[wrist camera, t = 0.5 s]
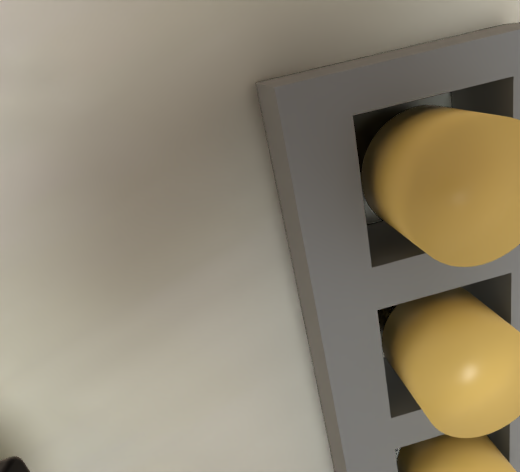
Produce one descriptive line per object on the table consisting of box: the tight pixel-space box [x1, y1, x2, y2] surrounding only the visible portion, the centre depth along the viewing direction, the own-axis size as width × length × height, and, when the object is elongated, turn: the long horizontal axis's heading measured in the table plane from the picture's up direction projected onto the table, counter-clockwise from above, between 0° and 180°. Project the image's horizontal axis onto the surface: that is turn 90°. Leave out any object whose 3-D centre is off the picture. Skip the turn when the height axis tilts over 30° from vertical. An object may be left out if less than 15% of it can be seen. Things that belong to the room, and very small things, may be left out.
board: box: [256, 22, 520, 472], centre depth 22 cm, size 25×11×4 cm, turn 12°
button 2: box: [382, 287, 520, 438], centre depth 19 cm, size 5×5×4 cm
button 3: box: [361, 105, 520, 267], centre depth 16 cm, size 5×5×4 cm
